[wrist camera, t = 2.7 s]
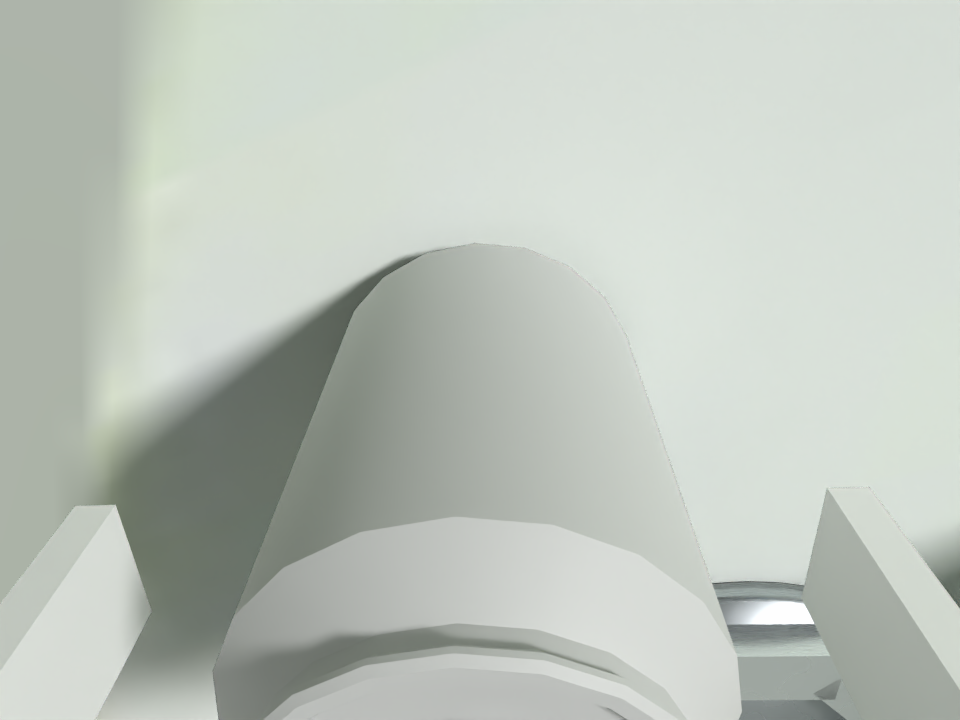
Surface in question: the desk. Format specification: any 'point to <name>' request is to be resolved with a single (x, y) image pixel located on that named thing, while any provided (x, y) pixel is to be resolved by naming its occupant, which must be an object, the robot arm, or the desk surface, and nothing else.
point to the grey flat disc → (781, 655)
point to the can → (480, 521)
